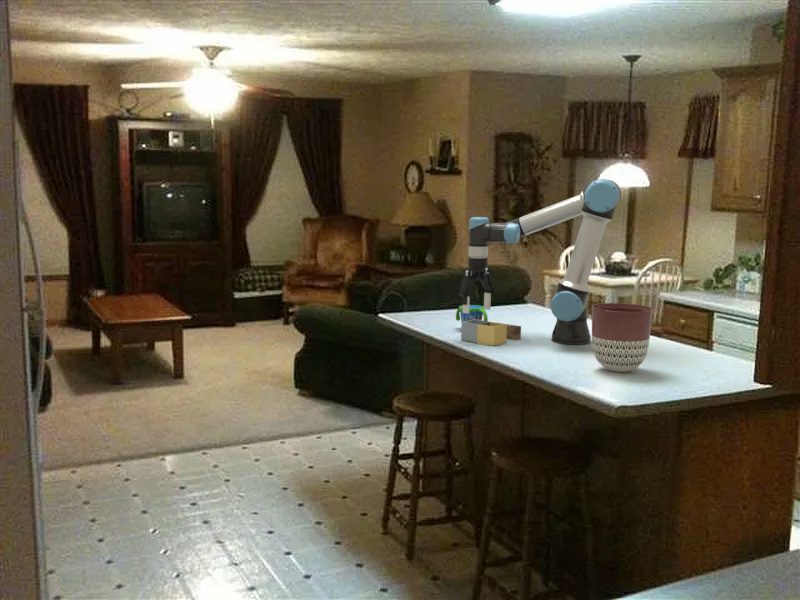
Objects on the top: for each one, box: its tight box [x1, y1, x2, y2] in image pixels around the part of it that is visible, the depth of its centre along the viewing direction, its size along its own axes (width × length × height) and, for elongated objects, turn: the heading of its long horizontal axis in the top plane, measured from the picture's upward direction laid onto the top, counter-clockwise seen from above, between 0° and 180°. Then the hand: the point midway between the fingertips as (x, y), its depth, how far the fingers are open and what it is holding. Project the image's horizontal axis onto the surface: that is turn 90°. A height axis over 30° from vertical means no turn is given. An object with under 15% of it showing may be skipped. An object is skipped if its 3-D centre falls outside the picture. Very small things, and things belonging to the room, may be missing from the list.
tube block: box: [460, 319, 508, 347], centre depth 322 cm, size 16×8×8 cm, turn 47°
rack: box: [500, 322, 522, 341], centre depth 333 cm, size 12×4×5 cm, turn 47°
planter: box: [591, 302, 653, 373], centre depth 274 cm, size 20×20×21 cm
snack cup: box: [455, 304, 489, 323], centre depth 347 cm, size 16×10×10 cm
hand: (476, 311), depth 324 cm, fingers open, 13 cm apart
